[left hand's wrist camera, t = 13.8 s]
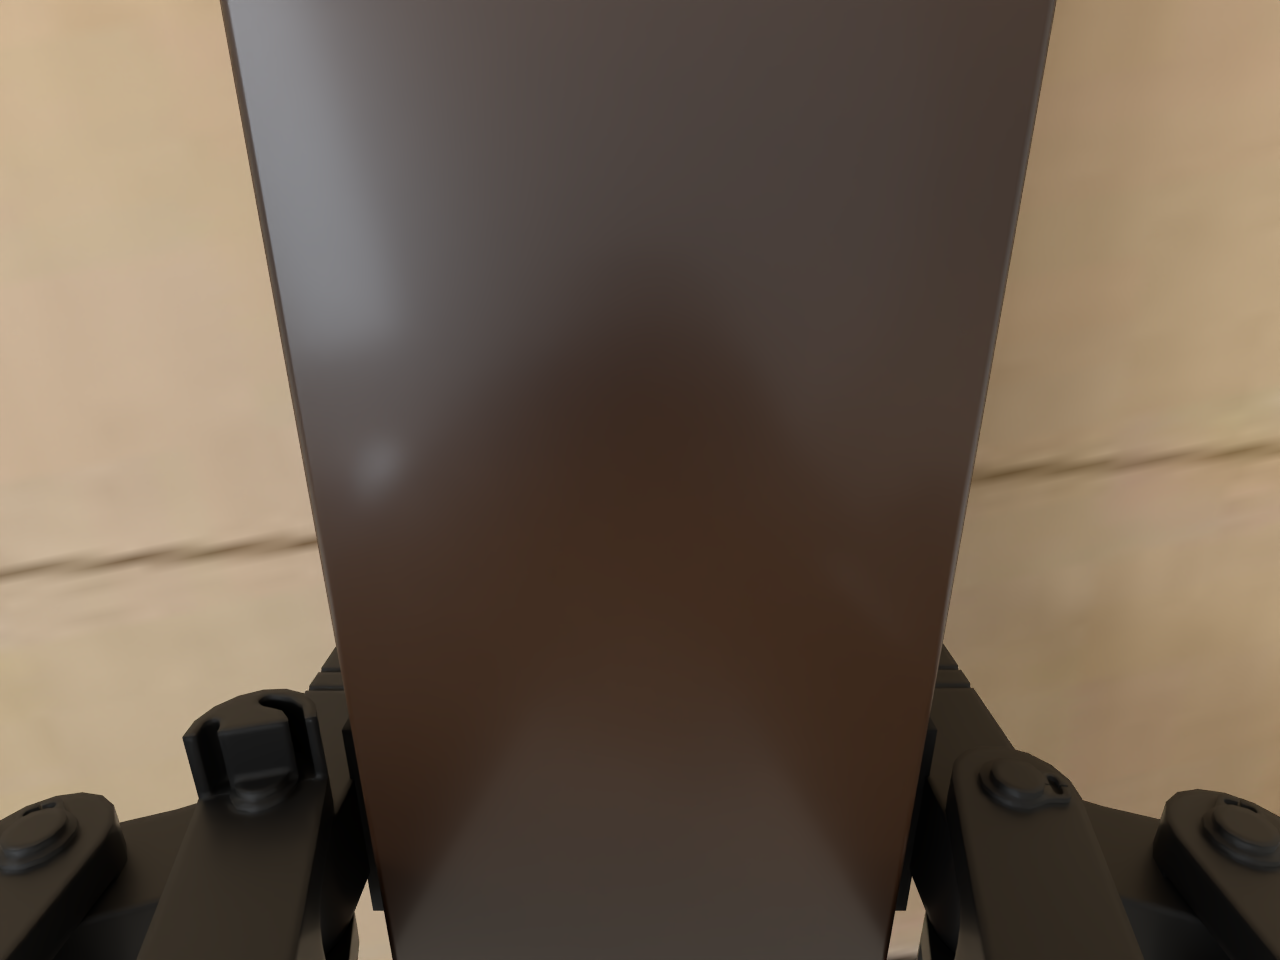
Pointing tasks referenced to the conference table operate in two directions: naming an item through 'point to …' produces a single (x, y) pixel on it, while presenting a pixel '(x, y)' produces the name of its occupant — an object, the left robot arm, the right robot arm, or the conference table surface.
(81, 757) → the conference table surface
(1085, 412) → the conference table surface
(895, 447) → the walnut box
